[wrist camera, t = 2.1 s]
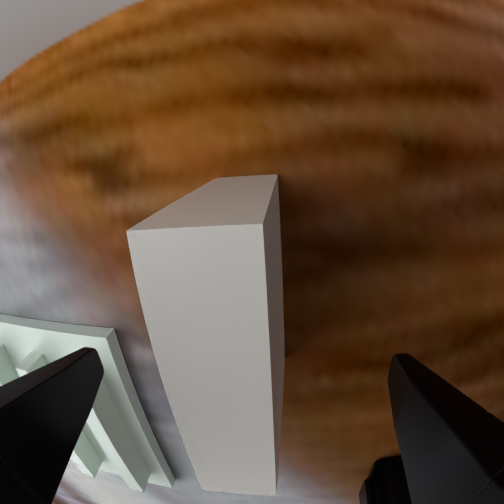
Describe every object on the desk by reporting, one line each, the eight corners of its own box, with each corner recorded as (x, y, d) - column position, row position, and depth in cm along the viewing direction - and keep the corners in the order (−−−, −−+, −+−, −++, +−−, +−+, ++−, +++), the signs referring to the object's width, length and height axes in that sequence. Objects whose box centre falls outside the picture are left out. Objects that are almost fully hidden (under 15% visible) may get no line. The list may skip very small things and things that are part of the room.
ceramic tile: (277, 174, 13) (263, 223, 5) (284, 357, 16) (276, 495, 8) (217, 178, 13) (126, 231, 6) (236, 357, 16) (202, 489, 9)
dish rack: (114, 328, 16) (88, 359, 14) (175, 478, 22) (166, 505, 19) (-40, 306, 19) (-61, 321, 16) (28, 434, 24) (15, 451, 21)
